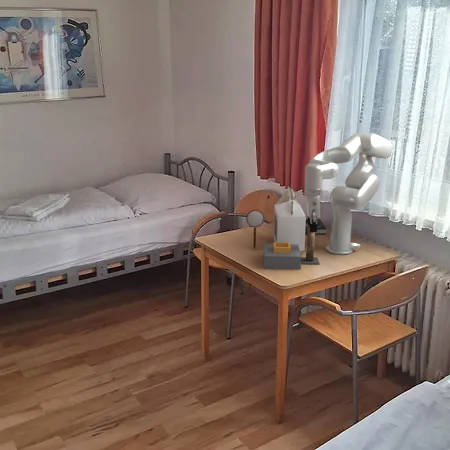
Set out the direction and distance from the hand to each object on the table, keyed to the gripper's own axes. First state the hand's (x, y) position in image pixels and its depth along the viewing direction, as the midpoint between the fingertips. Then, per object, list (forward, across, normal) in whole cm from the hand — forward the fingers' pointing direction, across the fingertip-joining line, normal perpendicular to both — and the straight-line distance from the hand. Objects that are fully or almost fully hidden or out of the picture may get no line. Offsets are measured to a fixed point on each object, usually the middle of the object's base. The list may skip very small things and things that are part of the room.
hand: (312, 228), depth 246 cm
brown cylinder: (+15, -1, +1) cm, 15 cm away
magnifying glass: (+16, +14, +26) cm, 33 cm away
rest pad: (+16, -1, +1) cm, 16 cm away
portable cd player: (+17, +46, -3) cm, 49 cm away
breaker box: (+15, -3, +14) cm, 21 cm away
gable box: (+16, +23, +9) cm, 30 cm away
